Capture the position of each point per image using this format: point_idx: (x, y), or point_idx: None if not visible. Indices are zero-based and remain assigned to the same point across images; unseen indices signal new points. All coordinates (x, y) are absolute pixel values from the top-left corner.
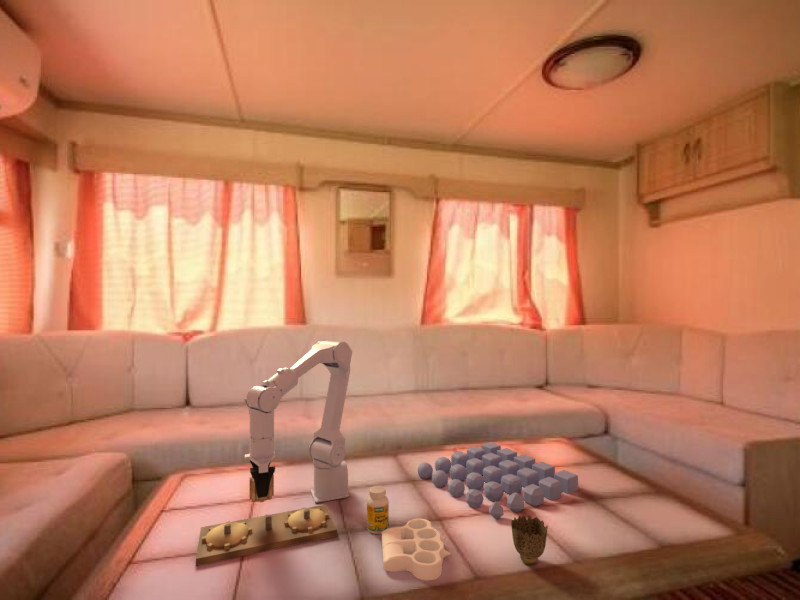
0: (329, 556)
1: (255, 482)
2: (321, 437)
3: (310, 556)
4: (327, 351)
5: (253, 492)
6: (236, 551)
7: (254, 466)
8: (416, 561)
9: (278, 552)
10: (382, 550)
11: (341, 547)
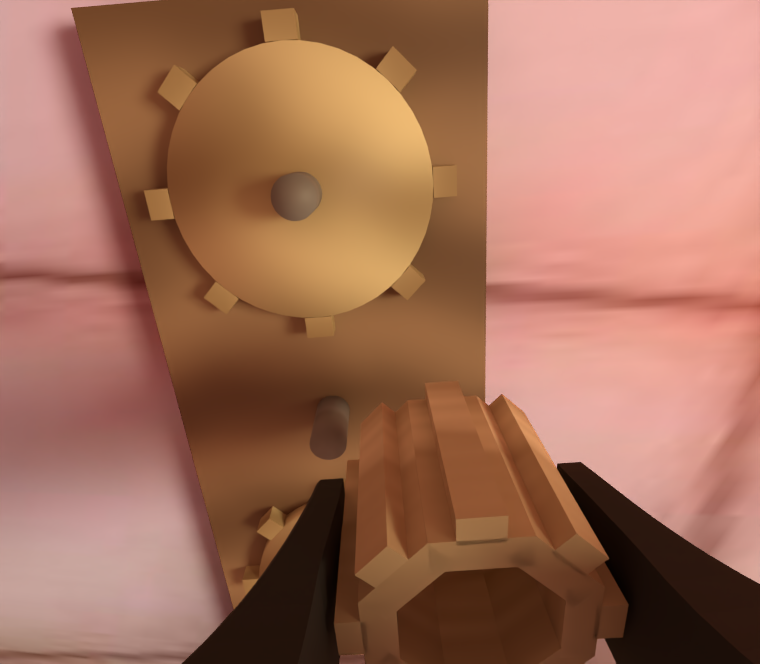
0: (116, 596)
1: (231, 613)
2: None
3: (124, 541)
4: None
5: (372, 464)
6: (141, 257)
7: (701, 647)
8: None
9: (172, 433)
10: None
11: (170, 633)
